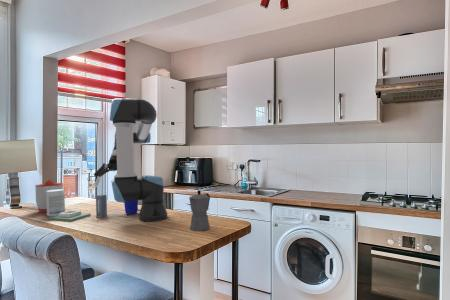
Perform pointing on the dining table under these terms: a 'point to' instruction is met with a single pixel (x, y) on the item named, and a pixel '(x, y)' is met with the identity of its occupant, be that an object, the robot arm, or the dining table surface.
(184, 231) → the dining table surface
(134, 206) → the mug
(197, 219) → the coffeepot
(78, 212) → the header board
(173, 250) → the dining table surface
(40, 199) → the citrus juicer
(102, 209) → the dark grey block
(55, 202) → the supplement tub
